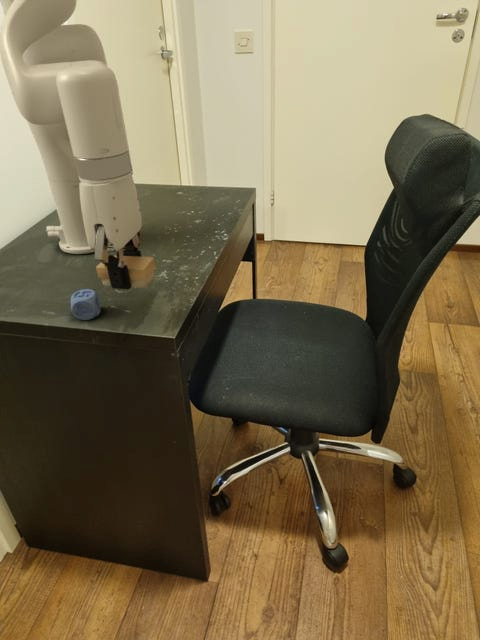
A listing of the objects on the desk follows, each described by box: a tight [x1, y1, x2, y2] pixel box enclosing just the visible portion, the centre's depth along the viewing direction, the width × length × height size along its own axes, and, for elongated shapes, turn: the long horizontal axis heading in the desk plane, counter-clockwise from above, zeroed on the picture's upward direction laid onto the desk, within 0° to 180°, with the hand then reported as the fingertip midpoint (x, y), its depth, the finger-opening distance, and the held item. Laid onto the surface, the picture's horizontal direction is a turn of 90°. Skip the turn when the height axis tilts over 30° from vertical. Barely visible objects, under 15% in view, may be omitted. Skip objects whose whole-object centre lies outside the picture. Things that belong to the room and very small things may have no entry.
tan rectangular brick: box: [95, 254, 156, 289], centre depth 75 cm, size 8×4×3 cm, turn 78°
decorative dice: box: [70, 288, 101, 321], centre depth 81 cm, size 4×4×4 cm
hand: (128, 279), depth 76 cm, fingers closed on tan rectangular brick, 4 cm apart
